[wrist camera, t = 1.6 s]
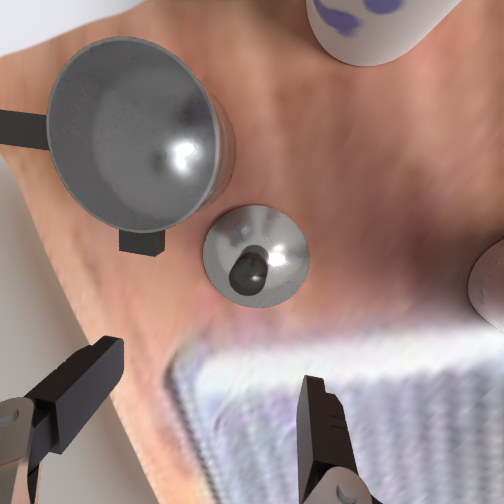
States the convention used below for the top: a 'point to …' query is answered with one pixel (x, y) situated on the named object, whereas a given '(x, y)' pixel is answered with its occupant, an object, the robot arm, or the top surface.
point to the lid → (256, 256)
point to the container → (373, 27)
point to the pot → (132, 139)
